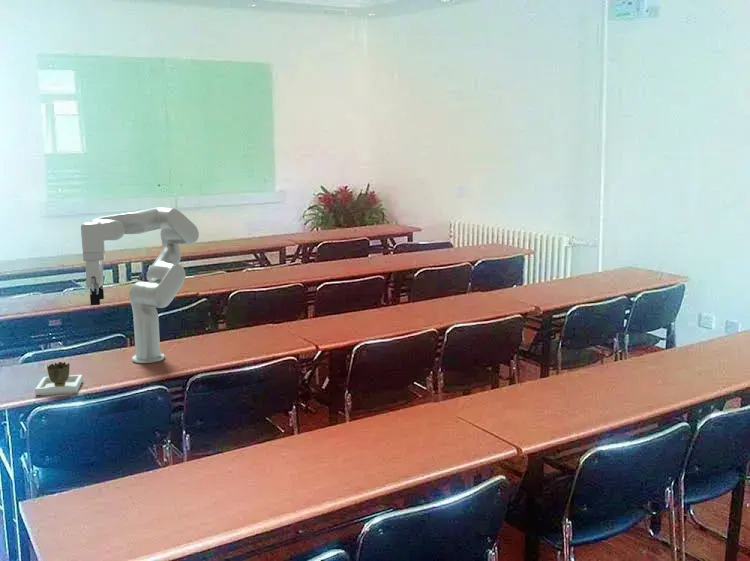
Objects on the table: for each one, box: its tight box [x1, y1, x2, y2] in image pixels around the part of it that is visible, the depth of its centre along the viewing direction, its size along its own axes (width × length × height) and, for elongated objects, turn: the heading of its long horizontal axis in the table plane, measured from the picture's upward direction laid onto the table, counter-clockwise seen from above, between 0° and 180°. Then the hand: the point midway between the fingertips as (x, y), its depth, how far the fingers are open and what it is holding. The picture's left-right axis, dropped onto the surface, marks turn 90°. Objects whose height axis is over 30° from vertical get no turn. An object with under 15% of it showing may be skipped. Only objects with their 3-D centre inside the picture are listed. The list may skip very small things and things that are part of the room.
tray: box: [34, 374, 84, 396], centre depth 269 cm, size 13×13×2 cm
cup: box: [46, 361, 71, 387], centre depth 268 cm, size 8×7×8 cm
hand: (97, 302), depth 278 cm, fingers open, 9 cm apart
